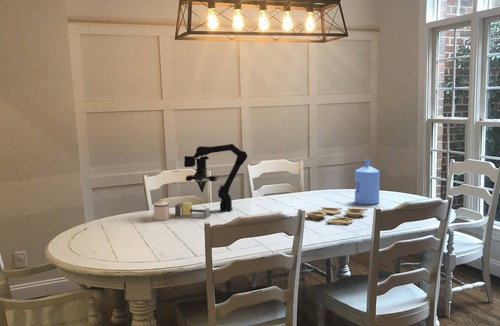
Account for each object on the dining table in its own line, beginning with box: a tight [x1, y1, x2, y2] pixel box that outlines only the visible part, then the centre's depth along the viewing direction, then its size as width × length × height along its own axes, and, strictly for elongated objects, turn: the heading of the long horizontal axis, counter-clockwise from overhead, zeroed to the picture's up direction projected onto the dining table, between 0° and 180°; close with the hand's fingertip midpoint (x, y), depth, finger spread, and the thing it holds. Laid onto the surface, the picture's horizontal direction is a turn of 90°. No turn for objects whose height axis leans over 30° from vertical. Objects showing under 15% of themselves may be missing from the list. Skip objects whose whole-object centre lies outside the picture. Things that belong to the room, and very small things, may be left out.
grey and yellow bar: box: [174, 202, 211, 220], centre depth 274 cm, size 19×8×7 cm, turn 79°
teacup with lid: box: [153, 198, 170, 222], centre depth 270 cm, size 12×9×12 cm
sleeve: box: [183, 201, 193, 216], centre depth 274 cm, size 4×5×7 cm
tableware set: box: [305, 206, 369, 226], centre depth 267 cm, size 35×29×4 cm
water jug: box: [354, 159, 381, 205], centre depth 303 cm, size 16×16×28 cm
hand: (202, 192), depth 286 cm, fingers closed
